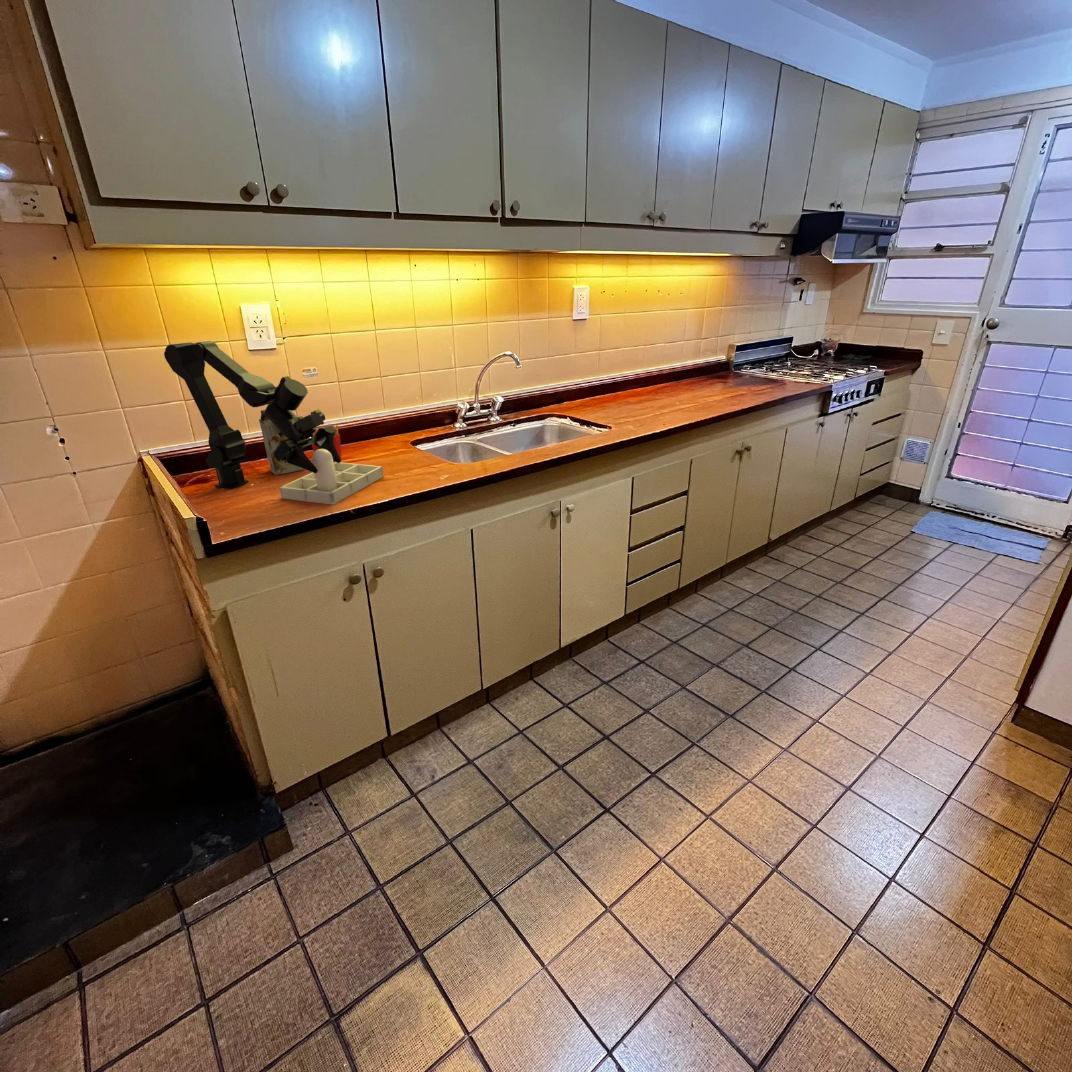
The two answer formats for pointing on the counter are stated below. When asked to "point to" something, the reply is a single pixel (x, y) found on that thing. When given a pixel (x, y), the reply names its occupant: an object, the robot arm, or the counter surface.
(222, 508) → the counter surface
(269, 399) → the robot arm
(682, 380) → the counter surface
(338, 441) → the french fries
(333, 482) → the white rounded cylinder
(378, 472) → the divided tray
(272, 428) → the coffee box
